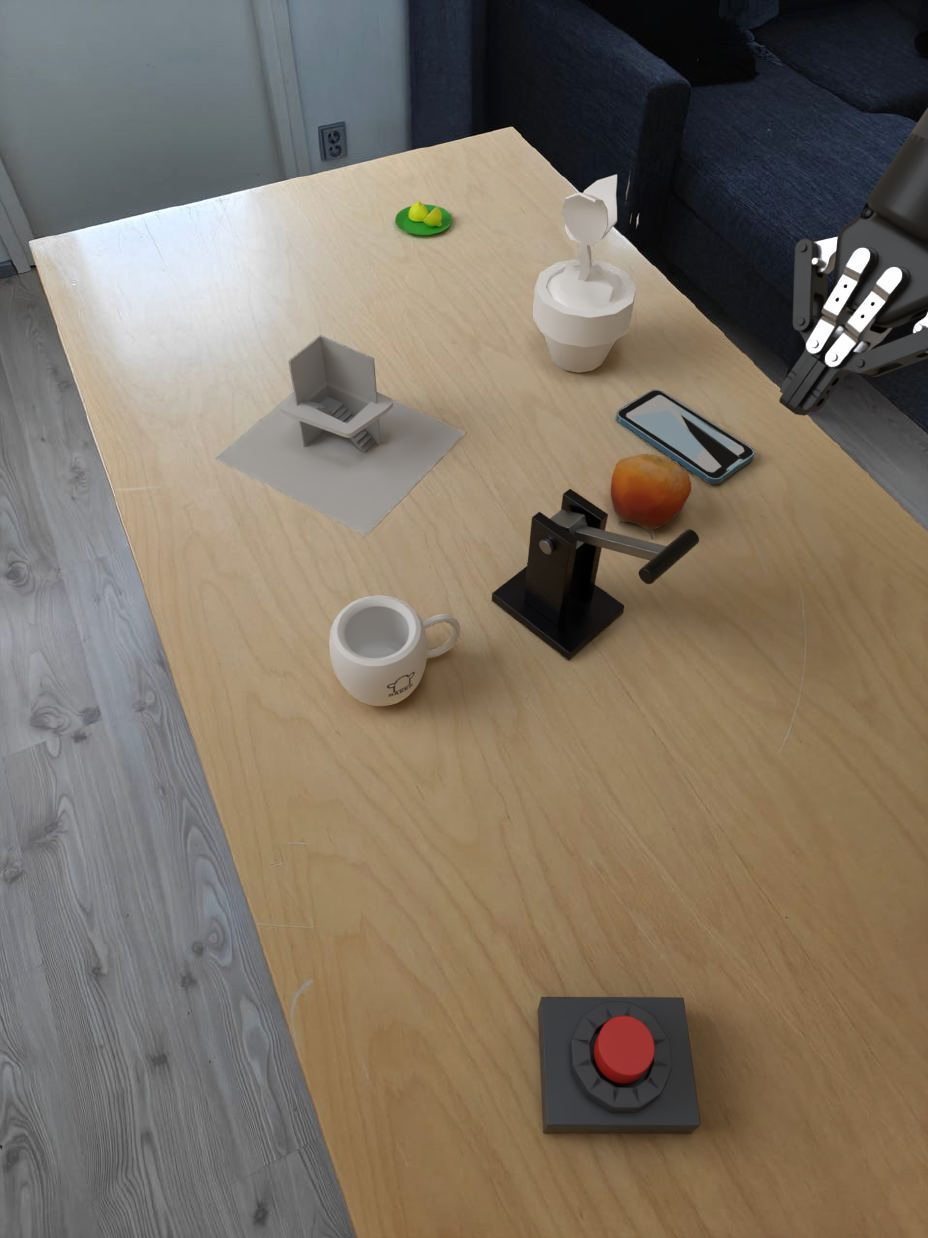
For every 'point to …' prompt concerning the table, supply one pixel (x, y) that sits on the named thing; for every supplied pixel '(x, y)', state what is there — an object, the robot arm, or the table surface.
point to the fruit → (648, 490)
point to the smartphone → (685, 436)
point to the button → (624, 1049)
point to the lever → (629, 544)
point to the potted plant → (585, 286)
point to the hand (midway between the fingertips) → (792, 409)
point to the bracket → (561, 583)
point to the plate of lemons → (423, 219)
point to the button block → (597, 1102)
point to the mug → (383, 648)
